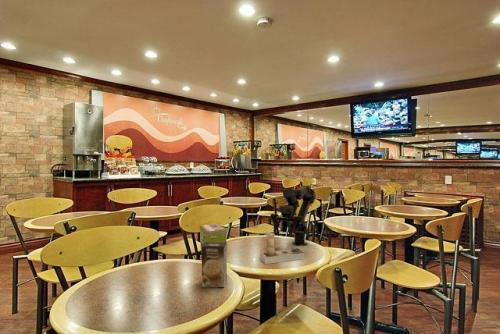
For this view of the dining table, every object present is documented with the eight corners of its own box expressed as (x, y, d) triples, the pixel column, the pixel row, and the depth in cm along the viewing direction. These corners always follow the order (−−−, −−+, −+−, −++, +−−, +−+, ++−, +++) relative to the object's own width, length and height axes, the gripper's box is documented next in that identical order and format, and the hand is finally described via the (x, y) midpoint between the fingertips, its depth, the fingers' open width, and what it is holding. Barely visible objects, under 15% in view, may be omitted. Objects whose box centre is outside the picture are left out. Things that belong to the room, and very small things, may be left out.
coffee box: (201, 287, 112) (199, 246, 112) (205, 281, 118) (204, 241, 118) (224, 288, 111) (223, 246, 111) (227, 281, 117) (226, 241, 117)
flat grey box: (260, 258, 144) (260, 252, 144) (297, 254, 149) (297, 248, 149) (265, 263, 136) (265, 257, 136) (304, 259, 142) (304, 252, 142)
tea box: (200, 252, 156) (199, 224, 156) (218, 249, 161) (217, 222, 160) (208, 260, 143) (207, 230, 143) (227, 257, 147) (226, 228, 147)
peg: (264, 260, 142) (264, 233, 141) (271, 258, 144) (270, 232, 144) (269, 262, 138) (269, 235, 138) (276, 260, 141) (275, 233, 140)
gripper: (270, 198, 158) (260, 223, 150) (302, 200, 147) (292, 227, 139) (278, 210, 165) (268, 234, 156) (309, 213, 154) (300, 239, 145)
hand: (281, 233), depth 149 cm, fingers open, 9 cm apart
